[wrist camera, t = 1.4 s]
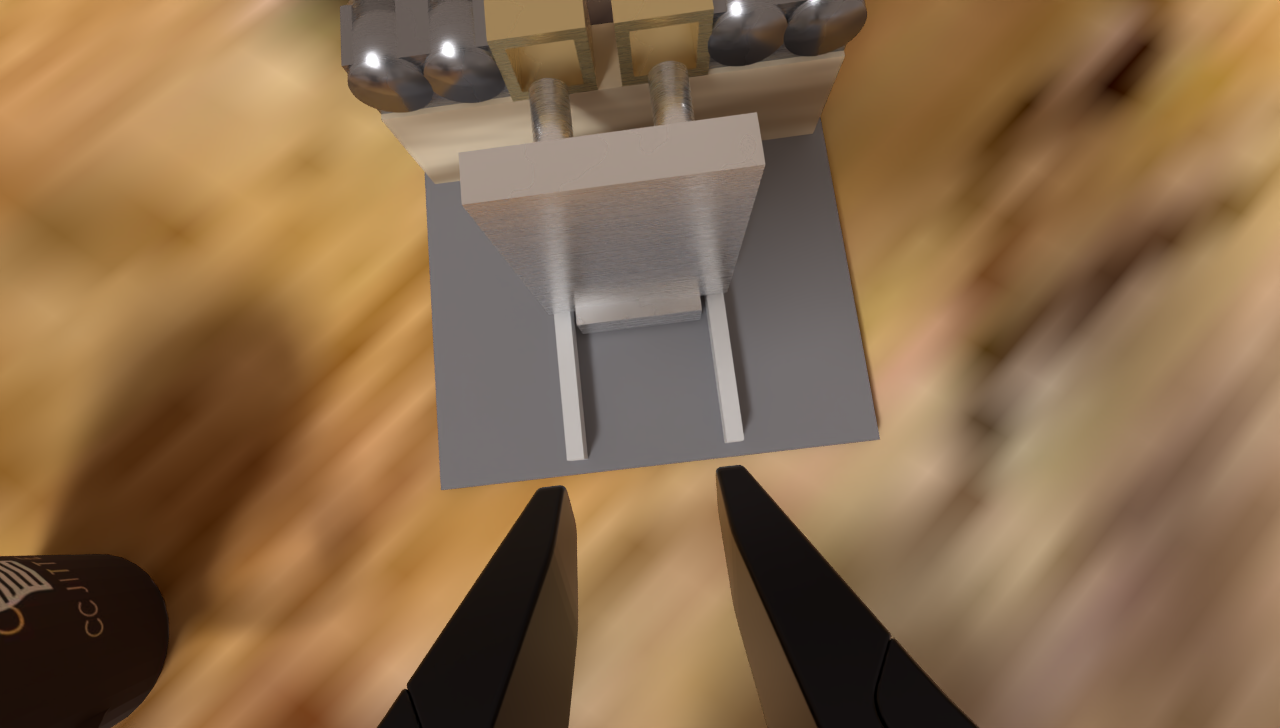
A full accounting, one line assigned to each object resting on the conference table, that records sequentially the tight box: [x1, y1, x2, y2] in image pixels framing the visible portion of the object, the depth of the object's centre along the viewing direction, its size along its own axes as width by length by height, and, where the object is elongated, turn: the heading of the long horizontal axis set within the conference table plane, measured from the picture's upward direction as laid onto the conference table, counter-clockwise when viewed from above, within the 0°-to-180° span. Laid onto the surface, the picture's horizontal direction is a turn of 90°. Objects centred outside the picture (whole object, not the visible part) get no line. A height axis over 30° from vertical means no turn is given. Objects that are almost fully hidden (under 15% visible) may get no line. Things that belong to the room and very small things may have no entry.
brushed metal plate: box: [458, 61, 765, 334], centre depth 18 cm, size 6×6×10 cm
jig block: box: [381, 22, 845, 184], centre depth 22 cm, size 2×15×4 cm, turn 97°
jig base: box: [425, 118, 880, 490], centre depth 23 cm, size 15×16×2 cm
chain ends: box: [340, 0, 867, 114], centre depth 18 cm, size 2×16×3 cm, turn 97°
